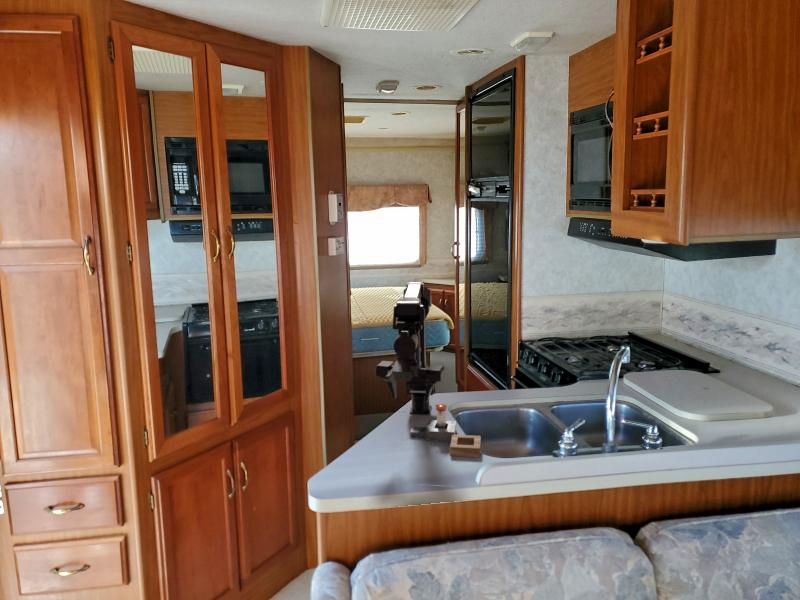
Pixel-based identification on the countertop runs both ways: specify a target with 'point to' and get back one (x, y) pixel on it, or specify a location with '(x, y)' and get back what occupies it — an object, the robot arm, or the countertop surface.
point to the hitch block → (435, 431)
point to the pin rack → (465, 445)
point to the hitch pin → (441, 415)
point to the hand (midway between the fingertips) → (410, 400)
